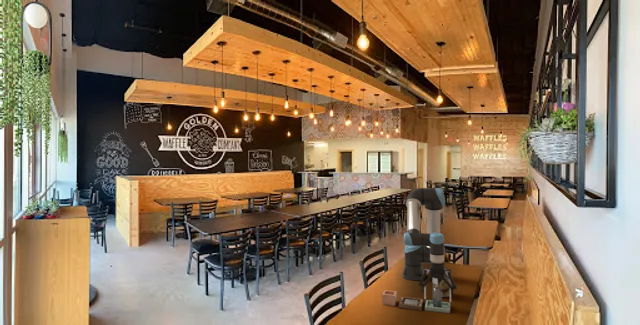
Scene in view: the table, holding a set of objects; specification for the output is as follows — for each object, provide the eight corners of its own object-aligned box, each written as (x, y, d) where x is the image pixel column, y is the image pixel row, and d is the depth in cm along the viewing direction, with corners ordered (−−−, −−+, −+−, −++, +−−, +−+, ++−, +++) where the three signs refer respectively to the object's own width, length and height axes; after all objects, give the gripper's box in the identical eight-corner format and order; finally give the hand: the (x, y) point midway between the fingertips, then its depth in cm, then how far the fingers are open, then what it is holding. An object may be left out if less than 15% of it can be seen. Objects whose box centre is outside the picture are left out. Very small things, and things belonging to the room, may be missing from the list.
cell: (433, 304, 210) (432, 284, 210) (441, 305, 208) (441, 284, 208) (432, 308, 205) (432, 287, 205) (441, 309, 204) (441, 287, 204)
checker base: (401, 299, 219) (401, 296, 219) (422, 302, 215) (422, 298, 215) (398, 307, 208) (398, 304, 208) (421, 310, 204) (421, 306, 204)
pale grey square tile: (405, 300, 216) (405, 299, 216) (418, 302, 214) (418, 300, 214) (404, 305, 210) (404, 303, 210) (416, 306, 207) (416, 305, 207)
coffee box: (438, 298, 222) (438, 271, 221) (432, 294, 228) (432, 268, 228) (451, 296, 224) (451, 269, 224) (445, 292, 230) (445, 266, 230)
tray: (426, 303, 214) (426, 300, 214) (450, 306, 209) (450, 302, 209) (424, 310, 204) (424, 306, 204) (449, 313, 200) (449, 309, 200)
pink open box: (384, 300, 219) (384, 290, 219) (396, 301, 217) (396, 291, 217) (382, 304, 213) (382, 294, 213) (394, 306, 210) (394, 295, 210)
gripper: (413, 261, 207) (414, 299, 207) (461, 265, 199) (461, 304, 199) (415, 258, 214) (415, 294, 214) (460, 261, 206) (461, 299, 206)
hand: (437, 299), depth 207 cm, fingers open, 13 cm apart
